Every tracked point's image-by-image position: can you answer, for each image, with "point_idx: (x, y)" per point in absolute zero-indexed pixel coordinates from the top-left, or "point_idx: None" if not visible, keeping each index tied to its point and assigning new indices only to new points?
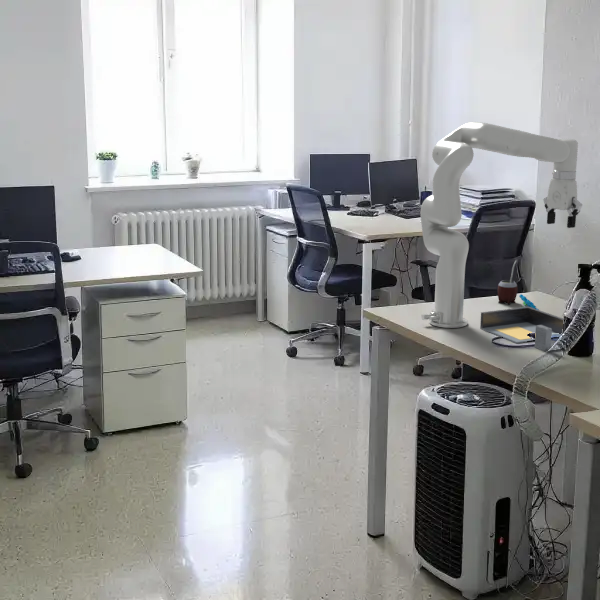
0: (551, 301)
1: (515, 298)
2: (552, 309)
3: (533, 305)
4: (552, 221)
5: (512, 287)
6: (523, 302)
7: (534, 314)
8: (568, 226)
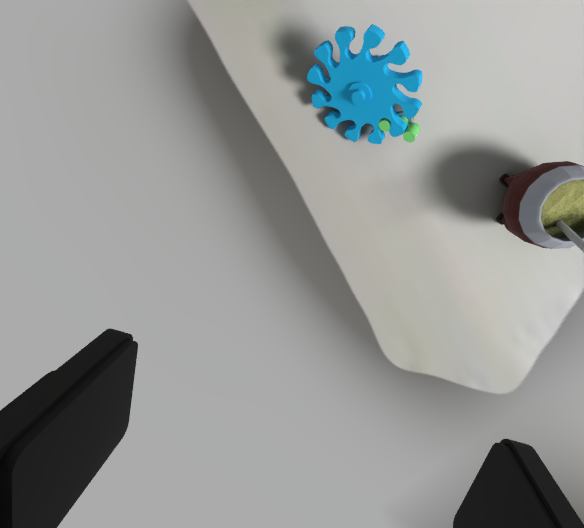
0: (406, 324)
1: (504, 224)
2: (346, 233)
3: (322, 45)
4: (478, 518)
5: (526, 190)
6: (415, 125)
7: None
8: (102, 336)
